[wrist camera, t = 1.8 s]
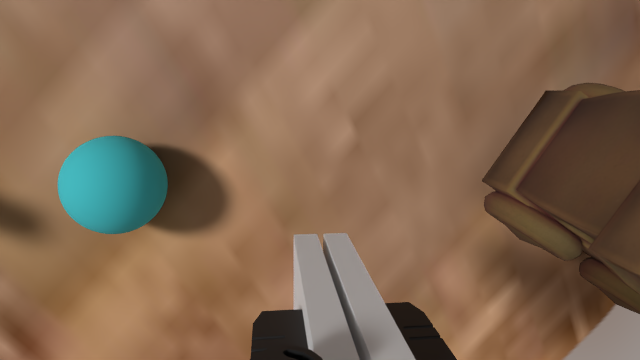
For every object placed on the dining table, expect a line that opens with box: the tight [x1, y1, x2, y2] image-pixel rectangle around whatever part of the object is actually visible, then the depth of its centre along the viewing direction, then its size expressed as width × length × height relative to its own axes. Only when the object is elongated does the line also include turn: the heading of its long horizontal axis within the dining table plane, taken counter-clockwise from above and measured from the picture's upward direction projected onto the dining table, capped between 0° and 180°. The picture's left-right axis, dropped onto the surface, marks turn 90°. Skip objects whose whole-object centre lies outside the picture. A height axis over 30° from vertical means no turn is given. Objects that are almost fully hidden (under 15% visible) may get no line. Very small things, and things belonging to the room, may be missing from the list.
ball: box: [58, 136, 168, 234], centre depth 25 cm, size 6×6×6 cm
